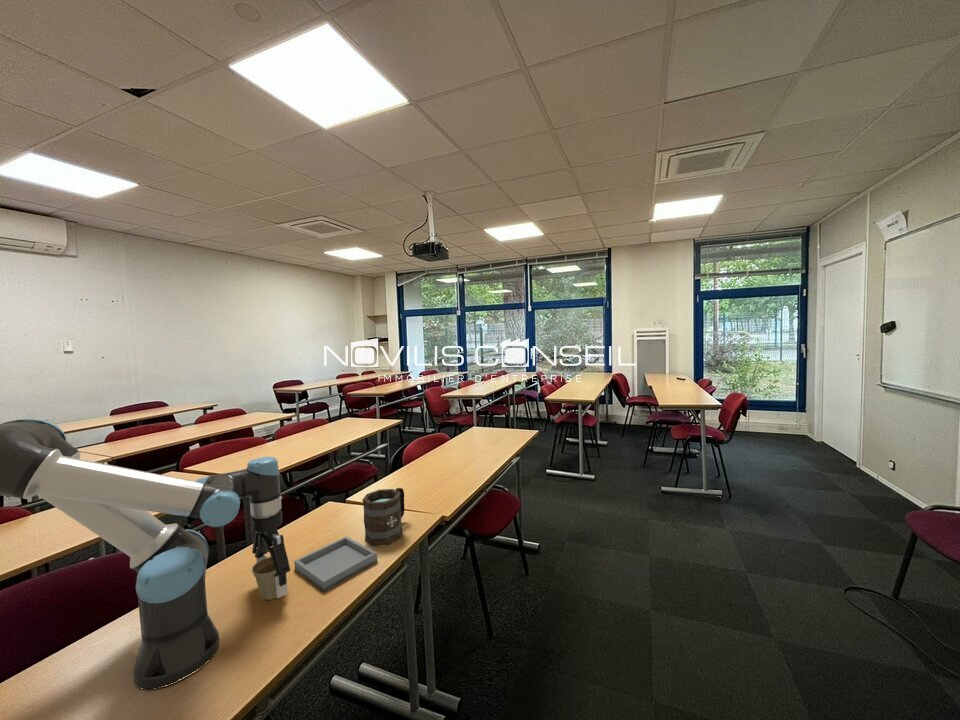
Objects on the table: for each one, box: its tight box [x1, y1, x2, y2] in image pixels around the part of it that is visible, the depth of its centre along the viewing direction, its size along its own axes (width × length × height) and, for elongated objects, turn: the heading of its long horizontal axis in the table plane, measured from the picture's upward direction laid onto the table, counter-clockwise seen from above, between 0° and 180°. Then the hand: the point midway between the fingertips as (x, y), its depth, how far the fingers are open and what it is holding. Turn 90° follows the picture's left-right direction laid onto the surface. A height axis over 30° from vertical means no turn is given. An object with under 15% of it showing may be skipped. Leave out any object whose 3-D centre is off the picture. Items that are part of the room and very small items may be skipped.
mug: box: [361, 487, 405, 547], centre depth 140 cm, size 20×14×15 cm
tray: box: [293, 536, 378, 593], centre depth 120 cm, size 18×18×3 cm
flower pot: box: [251, 555, 290, 601], centre depth 108 cm, size 9×9×9 cm
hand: (272, 586), depth 108 cm, fingers open, 12 cm apart
